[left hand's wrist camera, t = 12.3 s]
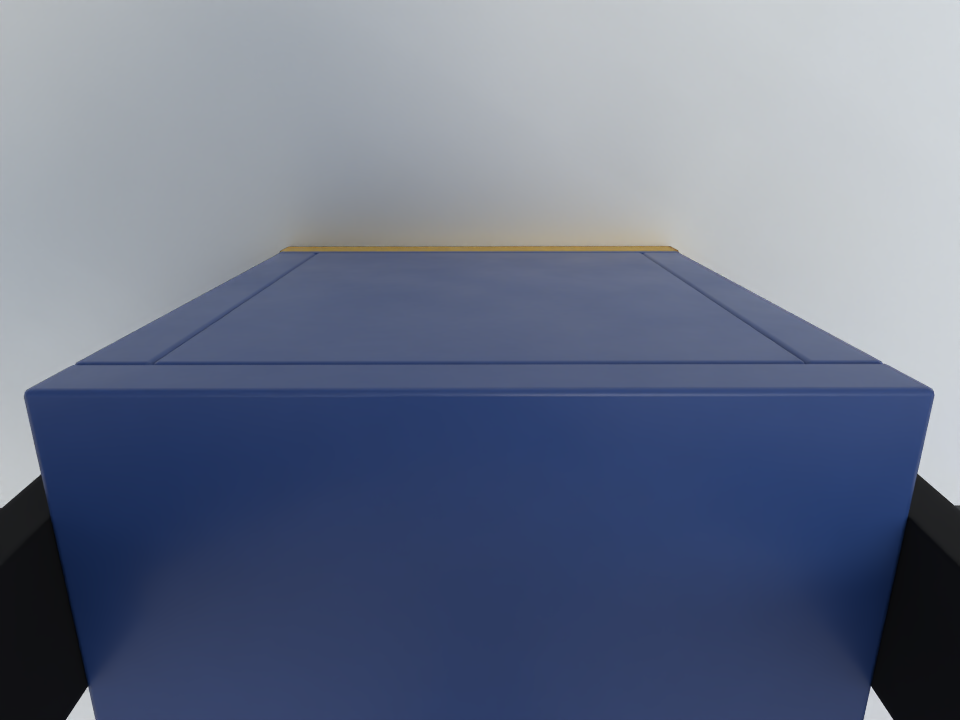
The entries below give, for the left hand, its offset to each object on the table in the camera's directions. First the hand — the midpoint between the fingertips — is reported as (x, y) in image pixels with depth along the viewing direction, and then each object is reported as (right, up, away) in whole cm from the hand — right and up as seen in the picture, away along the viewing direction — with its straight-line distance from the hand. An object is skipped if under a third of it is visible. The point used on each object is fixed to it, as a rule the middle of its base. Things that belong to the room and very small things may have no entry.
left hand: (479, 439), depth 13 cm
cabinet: (0, -4, +9) cm, 10 cm away
